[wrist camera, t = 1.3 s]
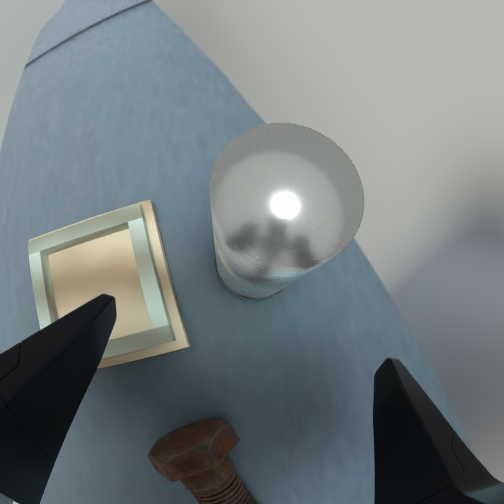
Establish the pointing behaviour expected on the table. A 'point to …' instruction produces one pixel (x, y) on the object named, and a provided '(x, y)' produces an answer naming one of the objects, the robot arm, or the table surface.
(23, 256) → the table surface
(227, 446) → the bolt
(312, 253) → the grey cylindrical piece
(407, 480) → the robot arm
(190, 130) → the table surface
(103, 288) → the tray
